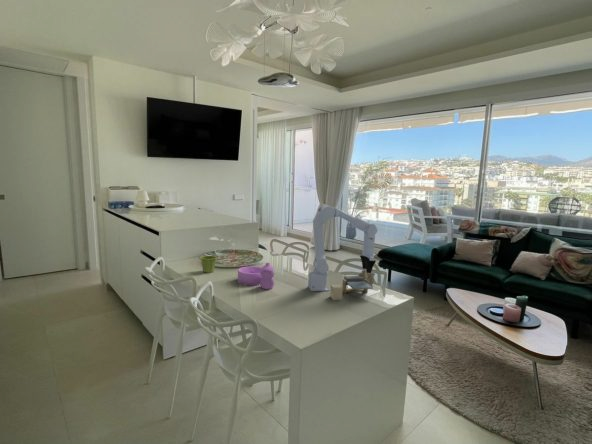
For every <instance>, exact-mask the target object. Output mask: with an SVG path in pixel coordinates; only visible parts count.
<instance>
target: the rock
mask: <svg viewBox="0 0 592 444" xmlns="http://www.w3.org/2000/svg"><path fill="white" fill-rule="evenodd" d="M357 276H361V277H362V278H363V281H364V279H367V280H368V284H369V285H370V286H372V287H373V284H374V282H375V272H373V271H371V273H367V271H366V269H363V270H362V271H360V272H359V274H358V275H357Z"/></svg>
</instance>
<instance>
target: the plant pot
mask: <svg viewBox="0 0 592 444" xmlns="http://www.w3.org/2000/svg"><path fill="white" fill-rule="evenodd" d="M199 258H200V261H201V266H202V271H203V273H207V274H209V273H210V274H211V273H213V271H215V264H216V260H217V258H218V257H217V256H215V255H201V256H200V257H199Z"/></svg>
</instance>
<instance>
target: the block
mask: <svg viewBox="0 0 592 444" xmlns="http://www.w3.org/2000/svg"><path fill="white" fill-rule="evenodd" d="M342 291H343V287H342V285H341V284H330V292H329V293H330V298H331V299H332V300H333V301H336V300H340V301H341V300H343V292H342Z"/></svg>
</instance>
